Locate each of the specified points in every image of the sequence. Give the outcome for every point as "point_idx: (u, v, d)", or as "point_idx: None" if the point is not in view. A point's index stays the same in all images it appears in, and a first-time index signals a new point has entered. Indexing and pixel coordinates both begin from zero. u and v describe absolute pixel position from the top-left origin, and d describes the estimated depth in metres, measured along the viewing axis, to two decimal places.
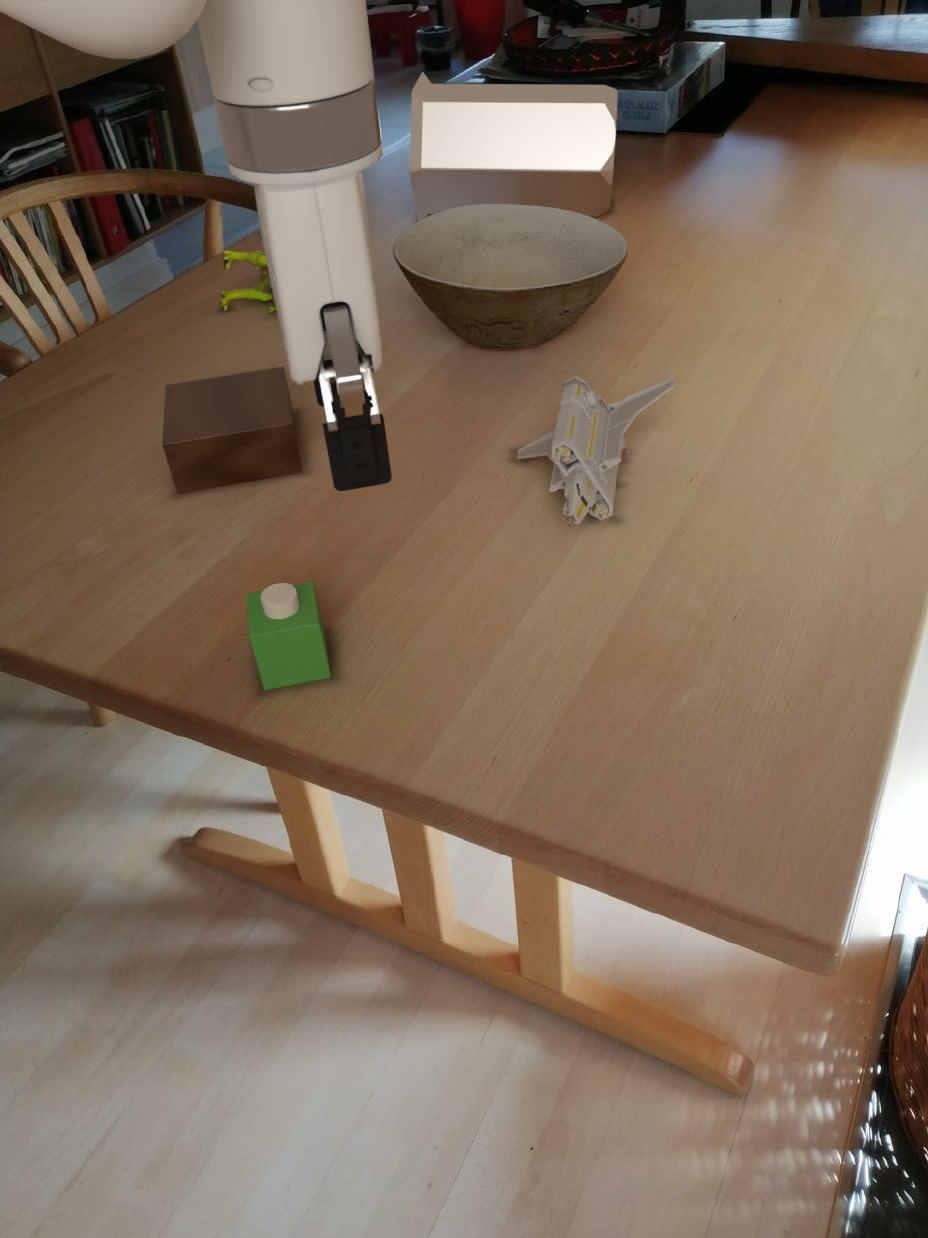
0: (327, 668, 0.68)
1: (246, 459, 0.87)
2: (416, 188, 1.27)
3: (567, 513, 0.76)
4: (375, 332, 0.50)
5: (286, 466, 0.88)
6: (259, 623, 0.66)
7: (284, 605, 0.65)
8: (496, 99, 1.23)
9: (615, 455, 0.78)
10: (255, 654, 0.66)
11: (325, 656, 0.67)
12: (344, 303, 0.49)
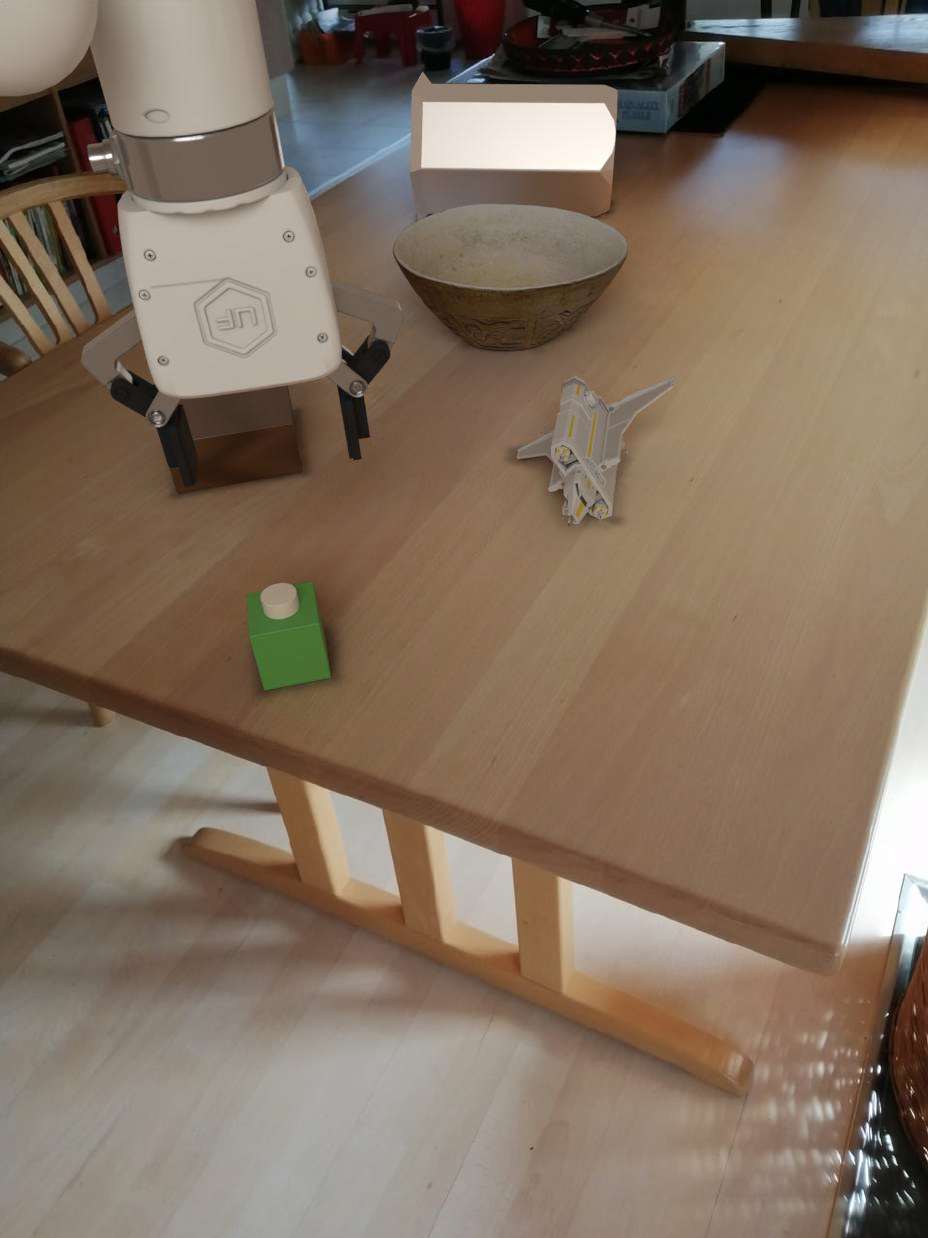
0: (327, 668, 0.68)
1: (246, 459, 0.87)
2: (416, 188, 1.27)
3: (566, 513, 0.76)
4: None
5: (286, 466, 0.88)
6: (259, 623, 0.66)
7: (284, 605, 0.65)
8: (496, 99, 1.23)
9: (614, 455, 0.78)
10: (255, 654, 0.66)
11: (325, 656, 0.67)
12: None
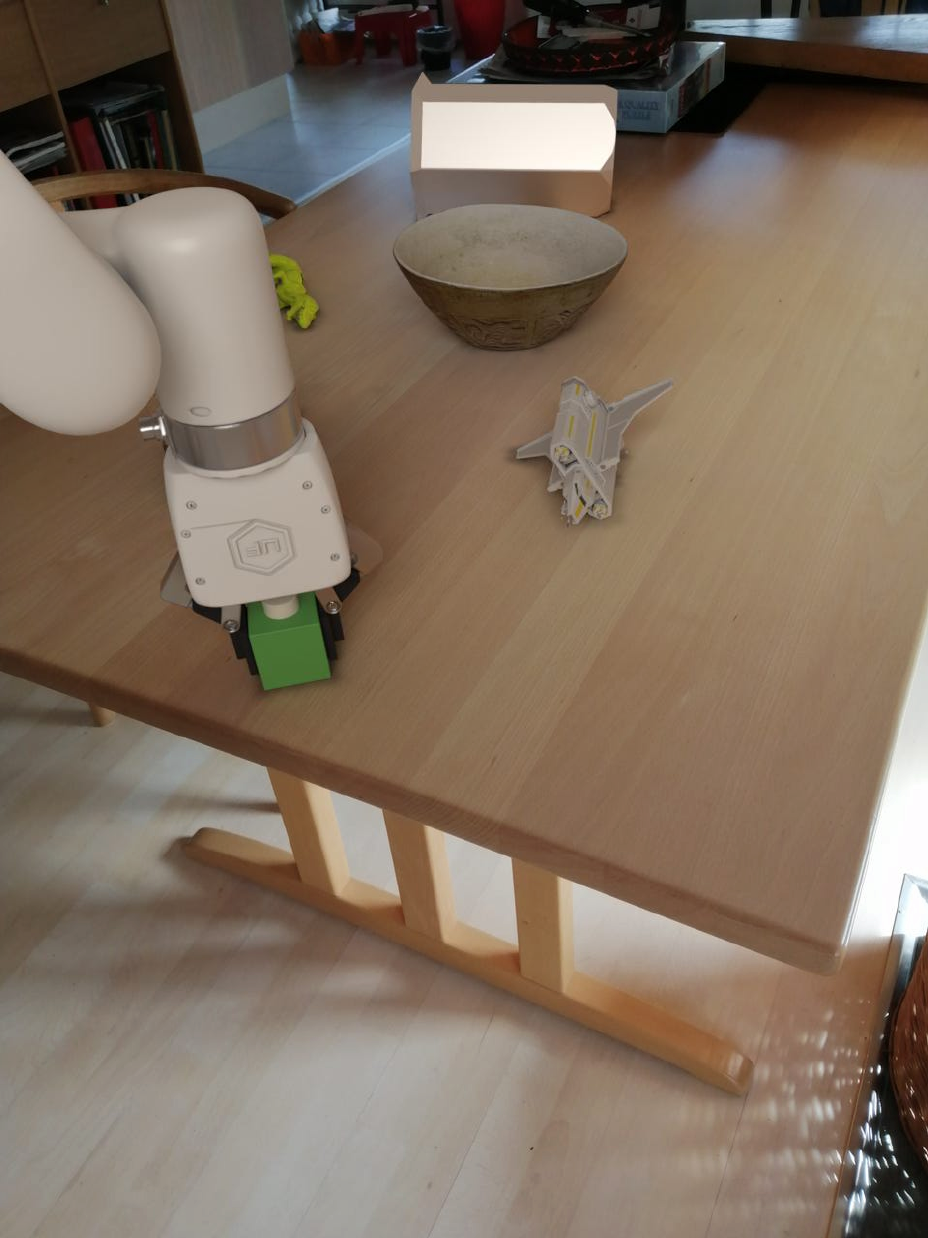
0: (327, 668, 0.68)
1: None
2: (416, 188, 1.27)
3: (565, 513, 0.76)
4: None
5: None
6: (259, 623, 0.66)
7: (284, 605, 0.65)
8: (496, 99, 1.23)
9: (614, 455, 0.78)
10: (255, 654, 0.66)
11: (325, 656, 0.67)
12: None
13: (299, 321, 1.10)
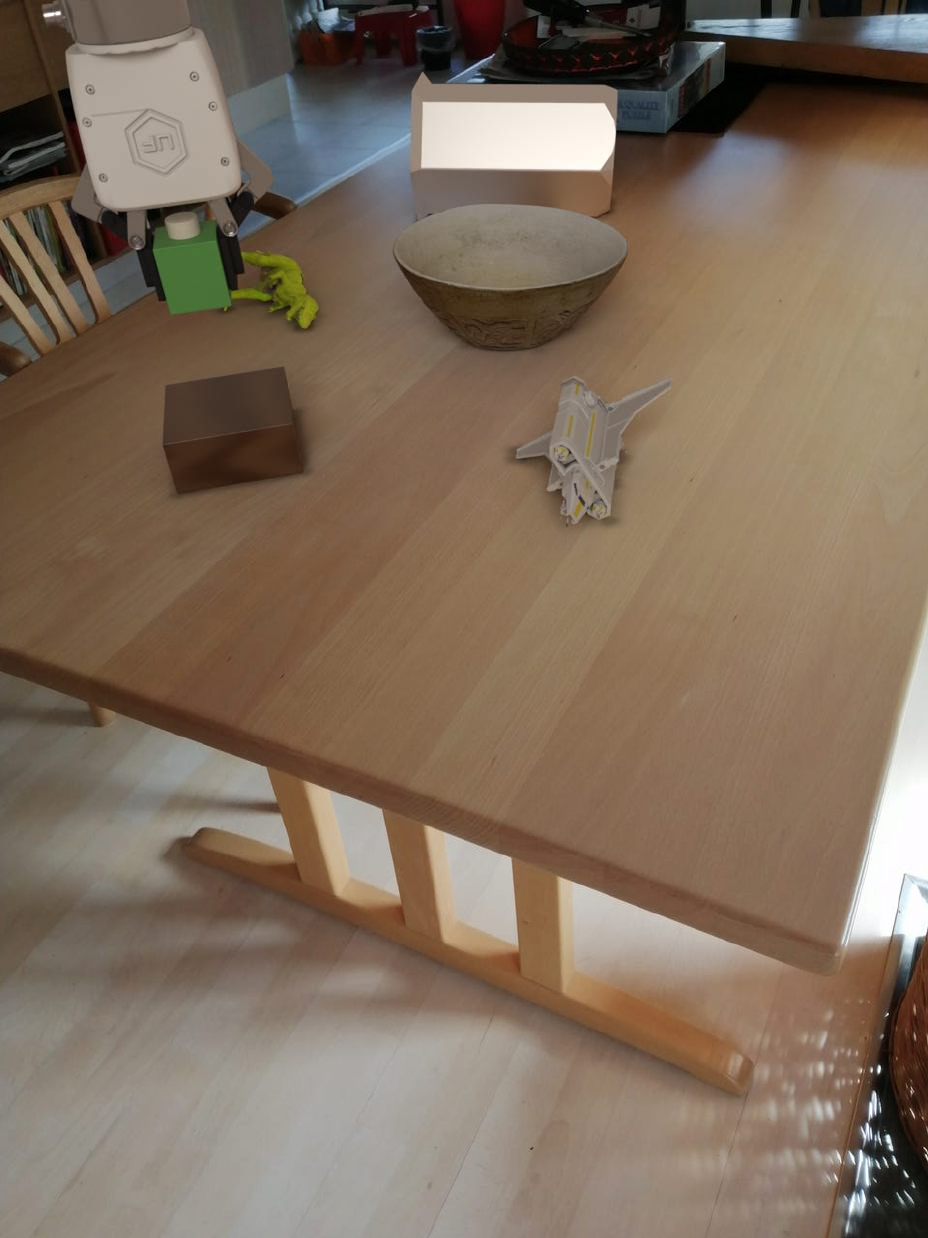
0: (227, 294, 0.75)
1: (246, 459, 0.87)
2: (416, 188, 1.27)
3: (565, 513, 0.76)
4: None
5: (286, 466, 0.88)
6: (163, 242, 0.73)
7: (185, 223, 0.72)
8: (496, 99, 1.23)
9: (613, 455, 0.78)
10: (159, 271, 0.73)
11: (224, 280, 0.74)
12: None
13: (299, 321, 1.10)
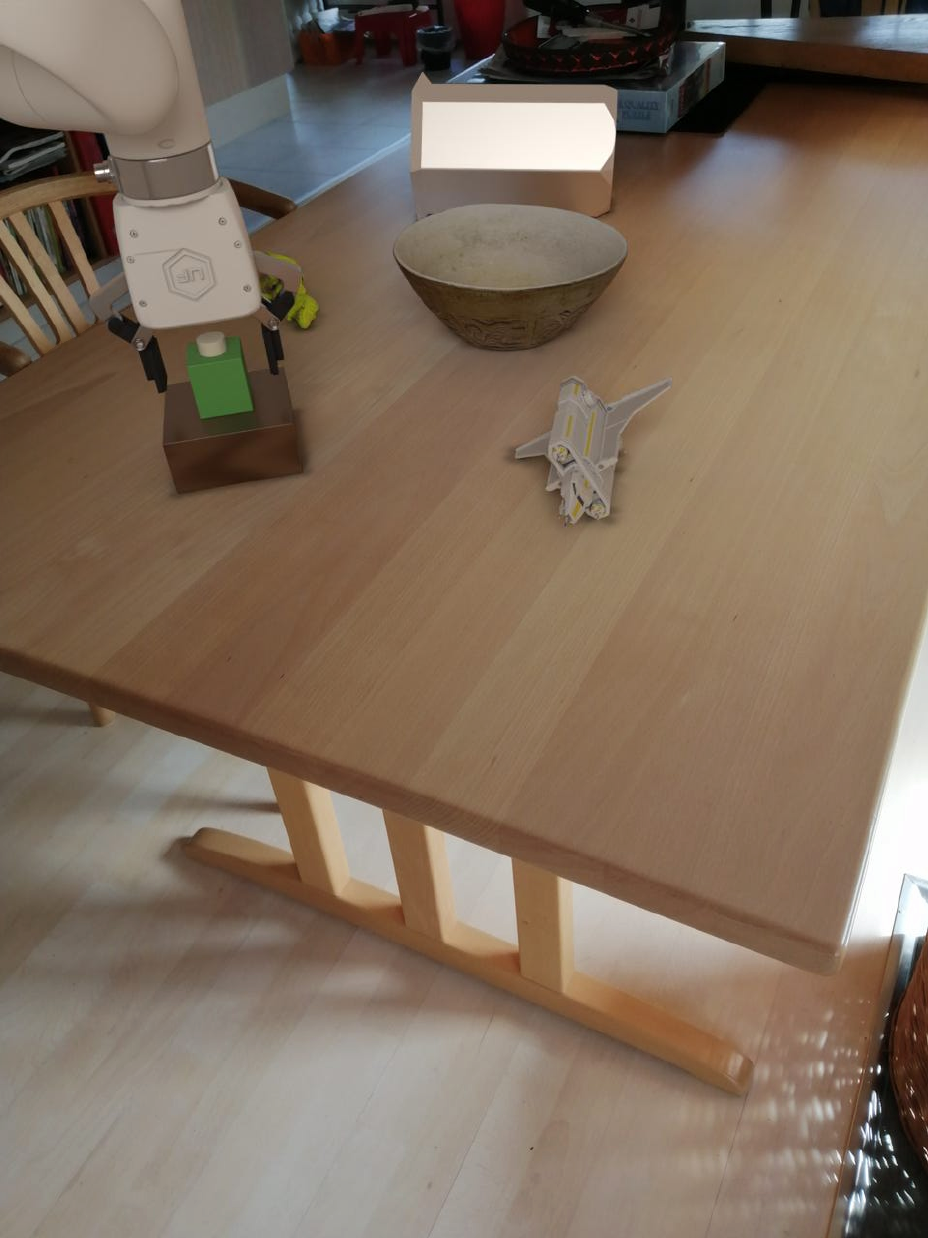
0: (250, 401, 0.87)
1: (246, 459, 0.87)
2: (416, 188, 1.27)
3: (563, 512, 0.76)
4: None
5: (286, 466, 0.88)
6: (195, 359, 0.84)
7: (214, 343, 0.84)
8: (496, 99, 1.23)
9: (612, 455, 0.78)
10: (192, 383, 0.85)
11: (247, 389, 0.86)
12: None
13: (299, 321, 1.10)
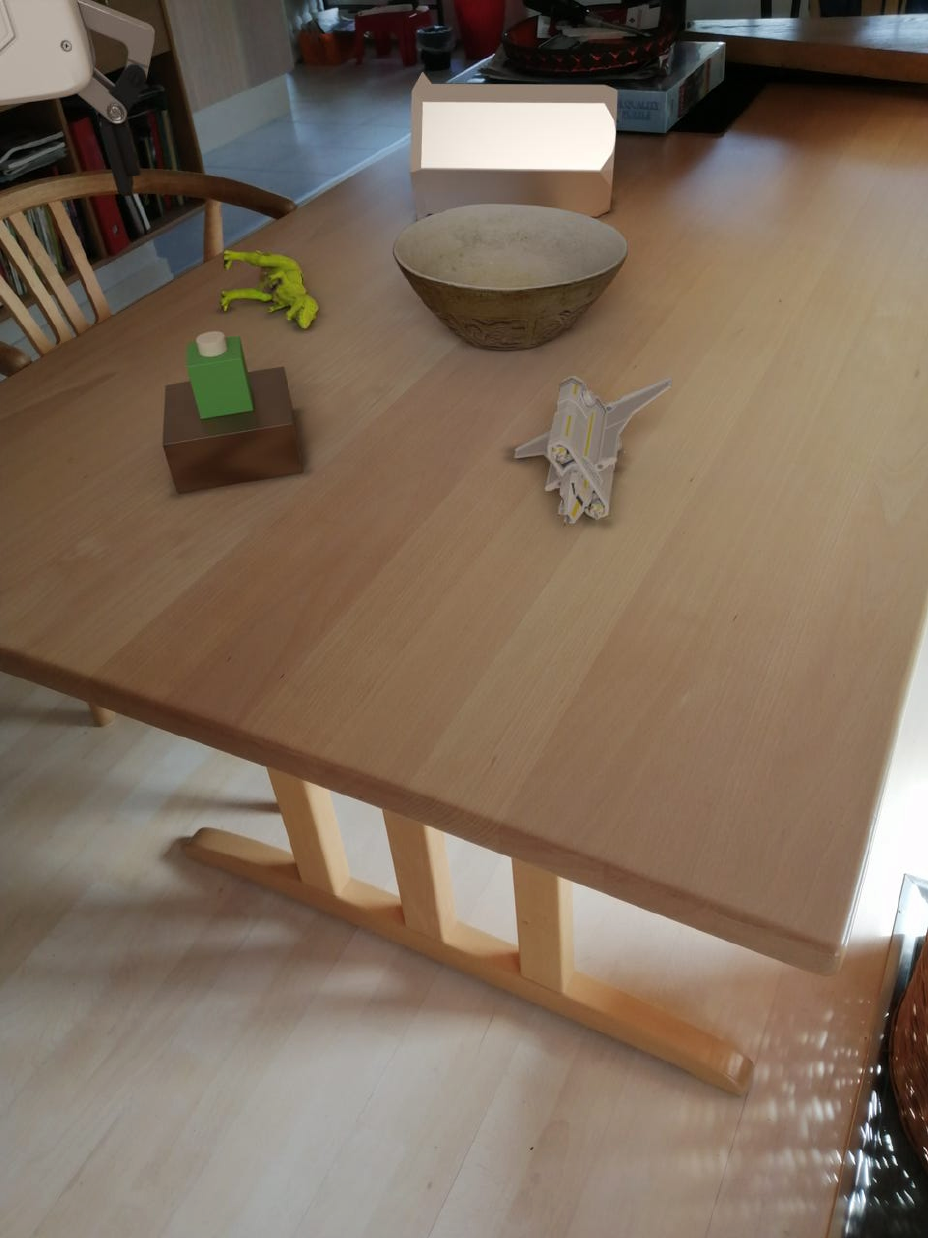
0: (250, 401, 0.87)
1: (246, 459, 0.87)
2: (416, 188, 1.27)
3: (562, 512, 0.76)
4: None
5: (286, 466, 0.88)
6: (195, 359, 0.84)
7: (214, 343, 0.84)
8: (496, 99, 1.23)
9: (611, 455, 0.78)
10: (192, 383, 0.85)
11: (247, 389, 0.86)
12: None
13: (299, 321, 1.10)
